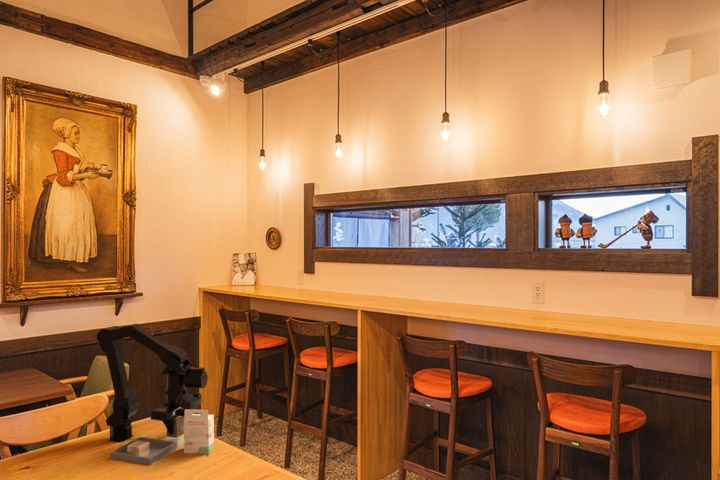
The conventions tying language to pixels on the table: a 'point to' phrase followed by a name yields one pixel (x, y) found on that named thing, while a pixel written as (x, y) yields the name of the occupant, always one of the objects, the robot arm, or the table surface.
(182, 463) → the table surface
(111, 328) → the robot arm
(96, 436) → the table surface
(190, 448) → the ink box
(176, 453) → the table surface
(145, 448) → the beech box
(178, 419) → the walnut box
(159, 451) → the grey tray
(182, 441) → the sage tile
